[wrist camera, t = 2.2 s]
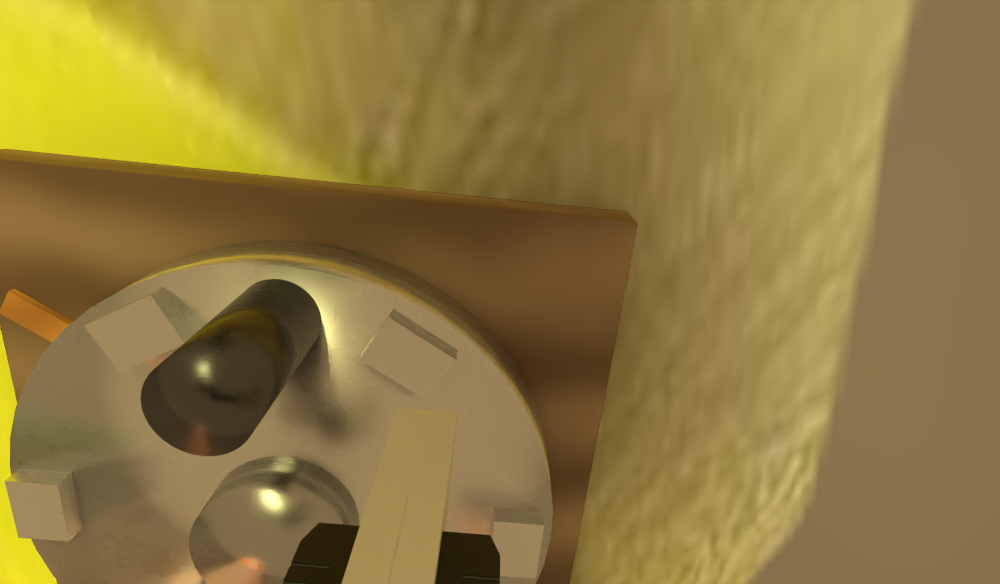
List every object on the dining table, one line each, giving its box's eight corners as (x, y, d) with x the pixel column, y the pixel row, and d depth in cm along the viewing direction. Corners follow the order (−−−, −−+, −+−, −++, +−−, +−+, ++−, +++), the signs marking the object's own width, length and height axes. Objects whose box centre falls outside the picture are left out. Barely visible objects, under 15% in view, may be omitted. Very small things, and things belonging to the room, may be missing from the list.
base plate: (4, 148, 24) (-45, 156, 22) (627, 211, 25) (639, 225, 23) (95, 613, 33) (67, 650, 31) (548, 647, 34) (551, 686, 32)
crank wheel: (519, 657, 31) (525, 874, 23) (100, 626, 31) (-53, 838, 22) (580, 268, 23) (625, 379, 15) (20, 214, 23) (-263, 298, 14)
